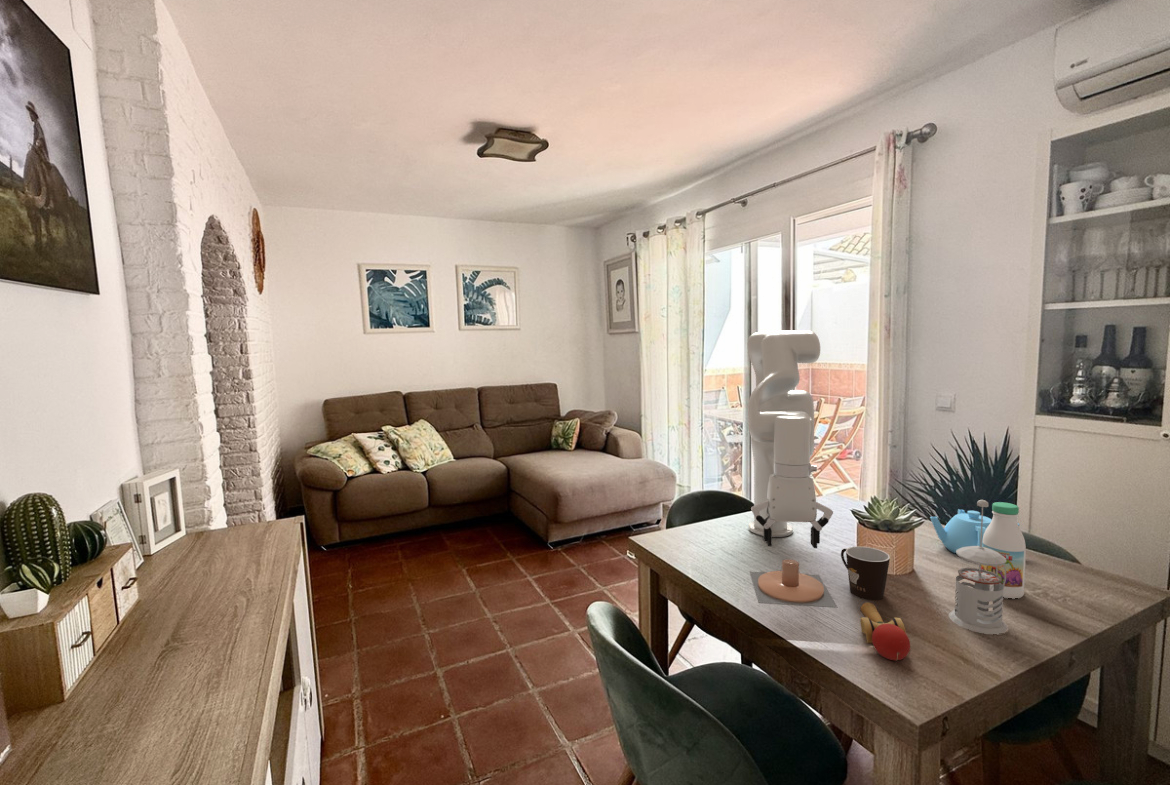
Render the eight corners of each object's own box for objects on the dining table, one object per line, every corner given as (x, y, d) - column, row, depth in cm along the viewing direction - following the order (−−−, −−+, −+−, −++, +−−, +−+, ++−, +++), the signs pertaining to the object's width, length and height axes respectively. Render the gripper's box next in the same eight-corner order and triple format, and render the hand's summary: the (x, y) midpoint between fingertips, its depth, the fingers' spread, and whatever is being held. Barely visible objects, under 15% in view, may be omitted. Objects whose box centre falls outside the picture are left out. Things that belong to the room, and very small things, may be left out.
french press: (936, 615, 111) (941, 496, 108) (974, 604, 115) (979, 489, 112) (987, 639, 101) (993, 510, 99) (1026, 626, 106) (1032, 502, 103)
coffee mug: (894, 608, 114) (896, 562, 113) (851, 605, 115) (851, 560, 115) (876, 584, 125) (877, 542, 124) (837, 581, 127) (837, 540, 126)
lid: (754, 573, 130) (754, 549, 130) (815, 576, 128) (815, 551, 127) (762, 600, 116) (762, 574, 116) (831, 604, 114) (831, 577, 113)
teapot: (924, 546, 147) (925, 508, 146) (958, 536, 153) (959, 500, 152) (985, 566, 133) (987, 524, 132) (1020, 555, 139) (1022, 515, 138)
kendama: (844, 620, 112) (868, 658, 94) (849, 591, 112) (874, 623, 94) (884, 631, 110) (916, 671, 93) (890, 601, 110) (923, 635, 93)
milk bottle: (983, 581, 125) (987, 497, 123) (1026, 591, 120) (1030, 504, 118) (976, 592, 120) (980, 505, 118) (1021, 603, 114) (1025, 512, 113)
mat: (749, 575, 131) (749, 571, 131) (818, 578, 129) (818, 574, 128) (758, 606, 116) (758, 602, 116) (837, 611, 113) (837, 607, 113)
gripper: (828, 467, 122) (827, 541, 123) (749, 466, 125) (749, 538, 126) (837, 474, 114) (836, 553, 115) (753, 473, 117) (753, 549, 118)
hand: (791, 545), depth 121 cm, fingers open, 9 cm apart
